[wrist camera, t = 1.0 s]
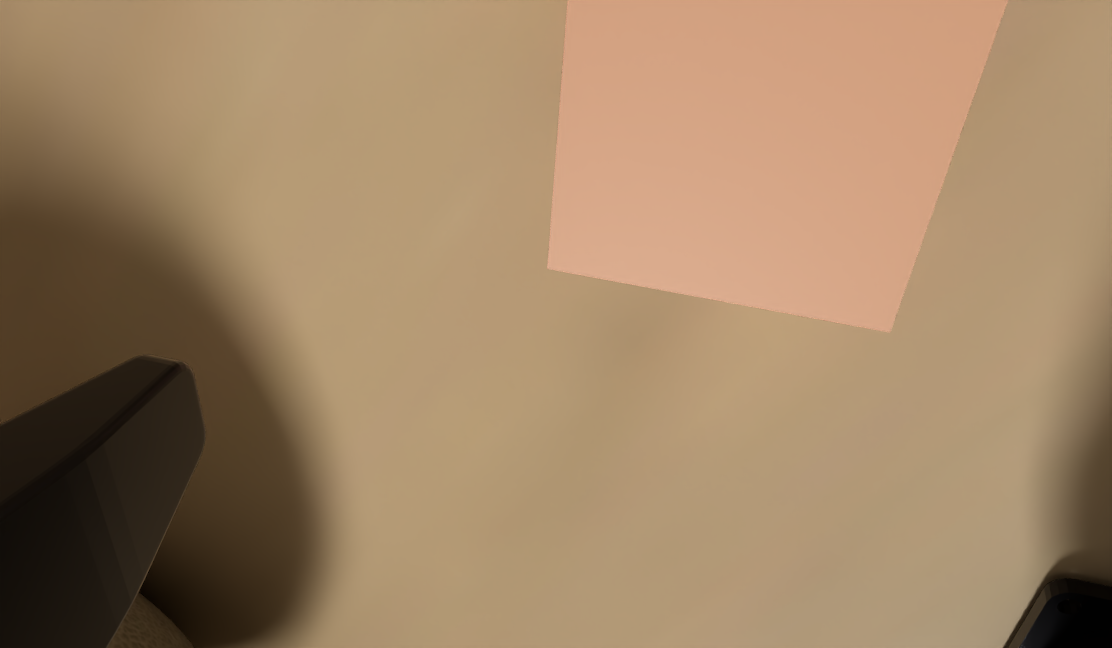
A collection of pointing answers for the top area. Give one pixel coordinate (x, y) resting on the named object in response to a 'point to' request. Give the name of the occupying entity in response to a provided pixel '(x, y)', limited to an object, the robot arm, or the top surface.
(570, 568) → the top surface
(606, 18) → the terracotta cube
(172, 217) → the top surface
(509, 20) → the top surface
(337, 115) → the top surface
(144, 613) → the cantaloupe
